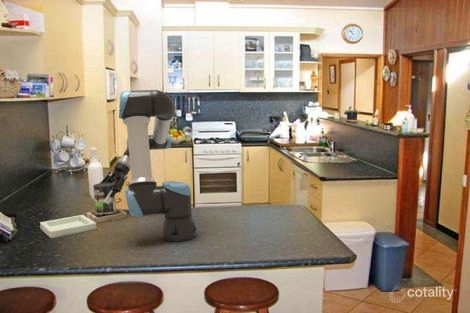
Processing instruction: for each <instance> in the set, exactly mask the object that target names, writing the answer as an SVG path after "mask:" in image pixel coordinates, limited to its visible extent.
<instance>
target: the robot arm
mask: <svg viewBox="0 0 470 313" xmlns="http://www.w3.org/2000/svg"><path fill="white" fill-rule="evenodd" d="M118 108H119V109H118V118H119V119H121V120H122V123H123V124H124V125H125V126H126V132H127V139H126V149H125V151H124V152H123V154H122V155H121V156H120V158H119V159H118V162H117V163H116V164H115V165H114V167H113V169H114V171H112V172H111V171H109V172H108V173H107V174H106V176H105V177H103V180H102V181H101V182H100V183H114V187H113V189H112V190H113V191H112V190H111V191H110V193H109V194H108V196H107V197H106V199H105V200H104V202H106V203H107V204H109V203H110V201H111V200H112V198H113V197H114V196H115V197H116V194H118V193H121V191H122V190H123V186H124V185H125V182H126V181H127V179H128V176H127V175H128V174H129V172H130V175H131V176H130V177H131V178H130V179H131V181H130V182H129V183H128V187H127V188H126V189H125V190H124V192H125V199H126V203H127V204H126V205H127V207H128V211H129V215H130V216H132V217H149V216H157V215H164V218H163V219H164V220H163V223H162V228H161V231H160V234H161V235H160V237H161V239H162V240H163V241H167V242H183V241H189V240H192V239H195V238H196V237H197V236H198V230H197V229H198V228H197V226H196V225H195V222H194V219H193V209H192V192H191V186H190V185H189V184H188V183H186V182H183V181H175V180H174V181H173V180H172V181H171V180H169V181H167V180H166V181H163V182H162V184H161V185H159V186H158V185H157V181H156V180H155V179H153V169H152V160H151V152H150V151H153V150H155V151H157V150H165V149H166V150H167V149H171V147H172V137H171V134H169V133H170V128H171V123H172V119H173V118H174V116H175V114H176V106H175V102H174V100H173V98H172V97H170V95H169V94H168V93H166V92H164V91H162V90H159V89H149V90H148V89H147V90H146V89H145V90H142V89H139V90H137V89H136V90H131V89H130V90H125V91H122V92H120V94H119V107H118ZM151 118H154V122H153V124H154V125H153V131H152V134H149V131H148V130H149V129H148V124H149V123H150V122H151ZM91 200H93V201H94V202H95V198H94V196H93V197H91Z"/></svg>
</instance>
